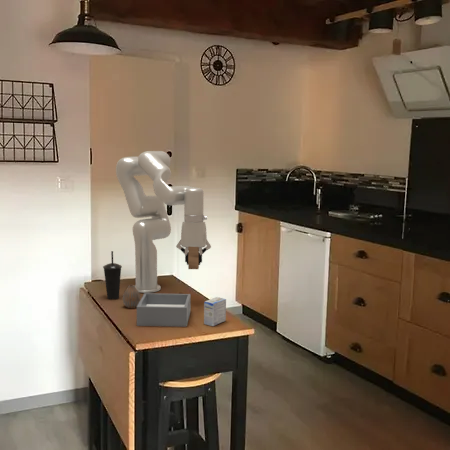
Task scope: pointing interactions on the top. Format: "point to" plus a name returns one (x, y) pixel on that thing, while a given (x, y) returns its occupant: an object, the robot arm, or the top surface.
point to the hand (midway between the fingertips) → (193, 263)
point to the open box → (164, 310)
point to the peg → (193, 257)
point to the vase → (131, 297)
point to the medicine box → (214, 311)
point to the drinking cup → (112, 279)
